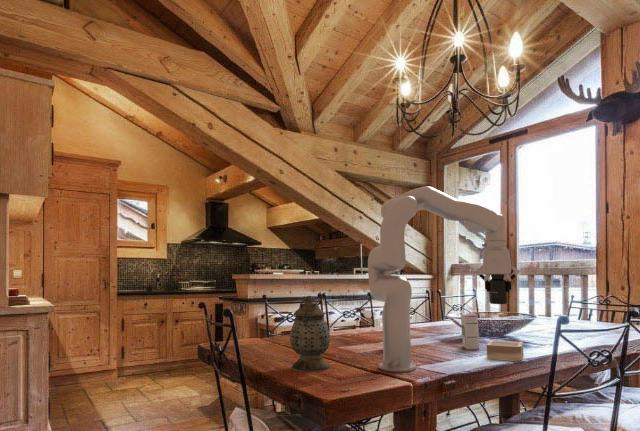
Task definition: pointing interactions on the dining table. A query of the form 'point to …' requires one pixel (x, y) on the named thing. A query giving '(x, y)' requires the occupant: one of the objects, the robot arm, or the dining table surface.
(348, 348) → the dining table surface
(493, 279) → the supplement bottle
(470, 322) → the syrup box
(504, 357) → the plinth
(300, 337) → the lantern
